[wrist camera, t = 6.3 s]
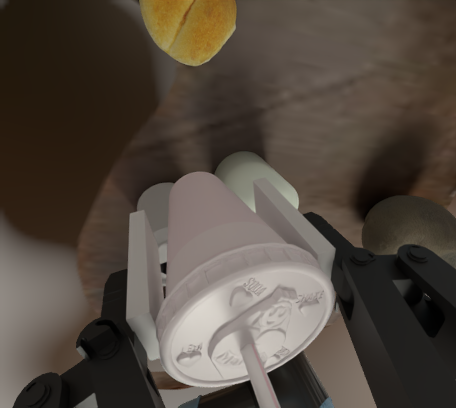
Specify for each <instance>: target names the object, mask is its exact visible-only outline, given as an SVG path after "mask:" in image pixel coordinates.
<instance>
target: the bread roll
mask: <svg viewBox="0 0 456 408" xmlns="http://www.w3.org/2000/svg"><path fill="white" fill-rule="evenodd" d="M139 3H140V8H141V14H142V17H143V20H144V23H145V26H146V28H147V30H148V32H149V34H150V35H151V37H152V39H153V40H154V42H155V43H156V44H157V46H159V47H160V48H161V49H162V50H163V51H165V52H166V53H167V54H168V55H170V56H171V57H172V58H174V59H175V60H177V61H179V62H181V63H183V64H186V65H191V66H198V65H201V64H203V63H205V62H207V61H209V60H210V59H211V57H213V56H214V55H216V54H217V53H218V52H219V51H220V49H221V47H222V46H223V45H224V44H225V43H226V41H227V40H228V38H229V37H230V36H231V35H232V34H233V32H234V30H235V29H236V25H235V21H236V2H235V0H139Z"/></svg>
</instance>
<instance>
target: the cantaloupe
mask: <svg viewBox="0 0 456 408" xmlns="http://www.w3.org/2000/svg"><path fill="white" fill-rule="evenodd" d="M405 244H415V245H420V246H423V247H426V248H428V249H429V250H431V251H433V252H434V253H435V254H437V255H438V256H439V257H440V258H442V259H443V260H444V261H446V262H447V263H448V264H450V265H451V266H452V267H454V268H455V269H456V218H455V217H454V216H453V215H452V214H451V213H450V212H449V211H448V210H446V209H445V208H444V207H442V206H441V205H439V204H437V203H435V202H433V201H431V200H428V199H425V198H422V197H416V196H406V195H398V196H393V197H389V198H387V199H384V200H382V201H380V202H379V203H377V204H376V205H375V206H374V207H373V208H372V209H371V210H370V211H369V212H368V214H367V216H366V218H365V223H364V226H363V229H362V245H363V248H364V249H367V250H369V251H371V252H373V253H374V254H375V255H390V254H397V251H398V249H399V247H400V246H402V245H405Z"/></svg>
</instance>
